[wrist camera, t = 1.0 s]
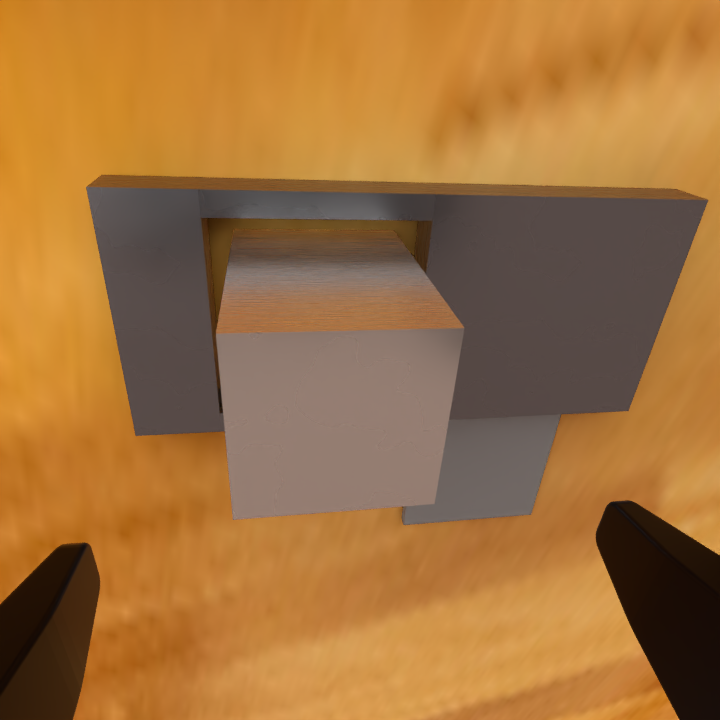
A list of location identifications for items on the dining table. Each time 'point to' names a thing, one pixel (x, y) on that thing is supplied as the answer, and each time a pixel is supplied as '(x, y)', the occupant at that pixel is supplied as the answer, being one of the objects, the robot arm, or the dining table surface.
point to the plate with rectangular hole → (438, 261)
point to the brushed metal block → (332, 372)
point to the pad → (489, 469)
